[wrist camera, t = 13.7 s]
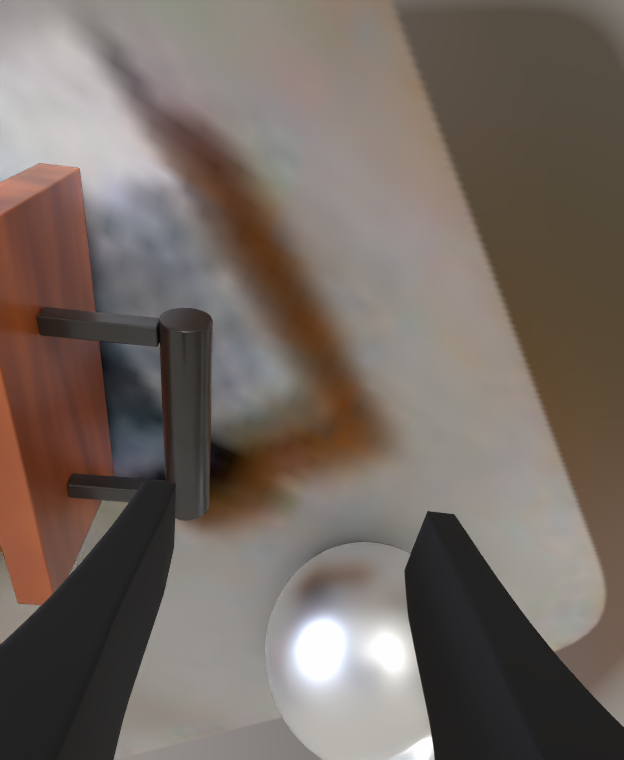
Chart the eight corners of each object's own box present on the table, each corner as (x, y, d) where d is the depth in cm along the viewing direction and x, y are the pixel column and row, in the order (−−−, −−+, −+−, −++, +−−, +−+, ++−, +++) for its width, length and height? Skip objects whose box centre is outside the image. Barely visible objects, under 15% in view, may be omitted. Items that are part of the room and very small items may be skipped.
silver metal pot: (310, 635, 30) (312, 866, 22) (243, 528, 26) (211, 770, 17) (469, 601, 29) (536, 836, 20) (429, 479, 24) (495, 722, 16)
